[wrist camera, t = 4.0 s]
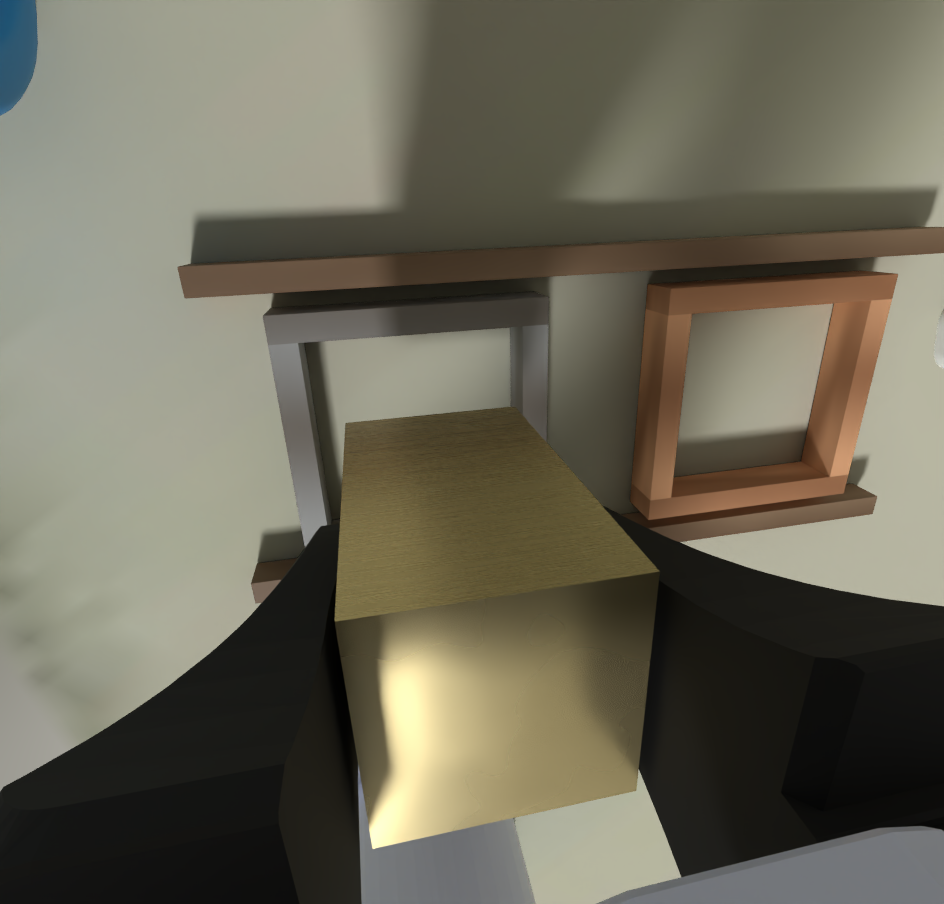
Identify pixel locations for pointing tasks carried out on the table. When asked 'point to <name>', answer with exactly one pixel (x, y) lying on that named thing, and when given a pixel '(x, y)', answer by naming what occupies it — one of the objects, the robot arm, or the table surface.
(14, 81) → the alarm clock
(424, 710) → the brass block
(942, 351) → the mounting plate
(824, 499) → the socket rail
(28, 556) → the table surface
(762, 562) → the table surface
